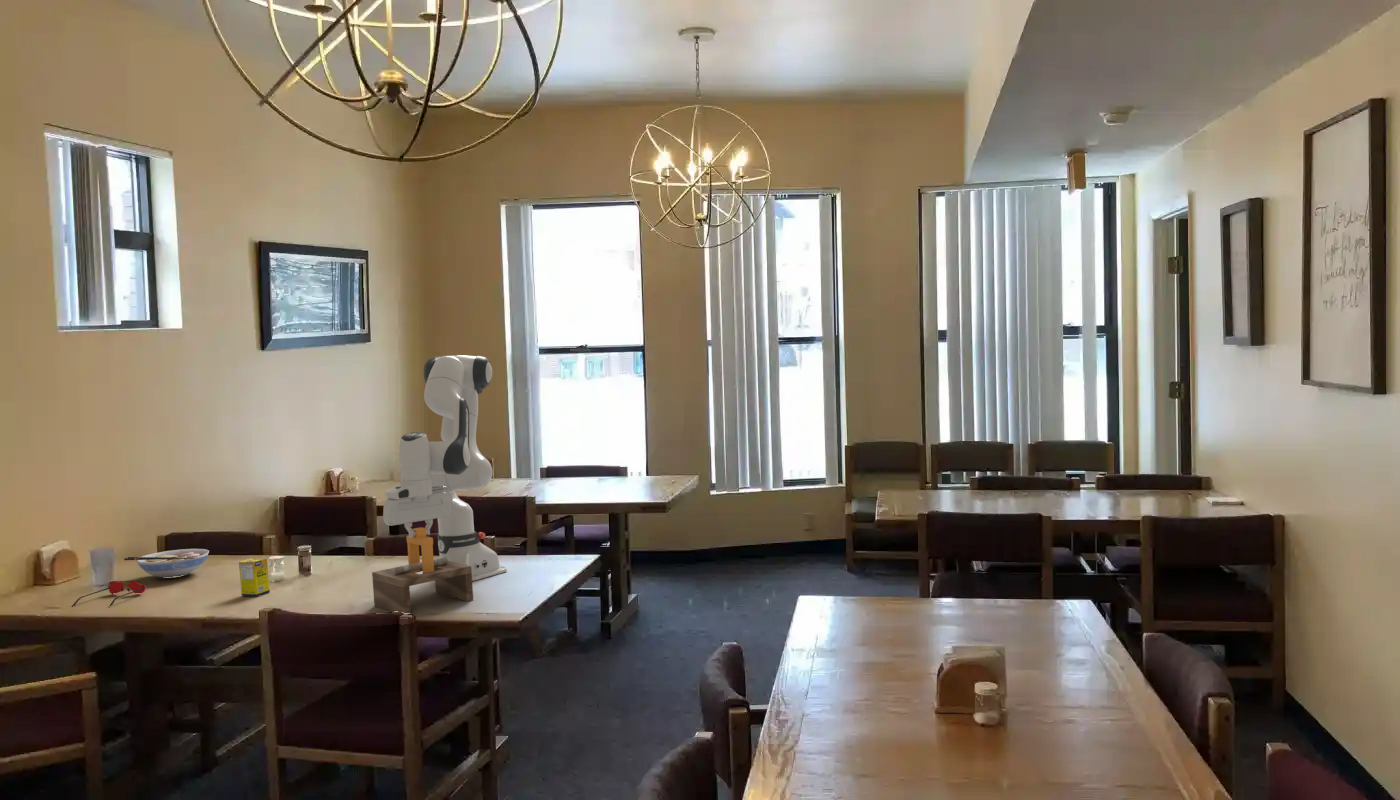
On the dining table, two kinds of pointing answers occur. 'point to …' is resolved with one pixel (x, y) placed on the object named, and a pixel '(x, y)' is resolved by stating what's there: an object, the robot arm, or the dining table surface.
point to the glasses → (121, 589)
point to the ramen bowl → (172, 562)
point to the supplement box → (254, 577)
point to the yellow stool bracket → (425, 549)
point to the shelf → (396, 581)
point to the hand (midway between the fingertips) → (419, 536)
